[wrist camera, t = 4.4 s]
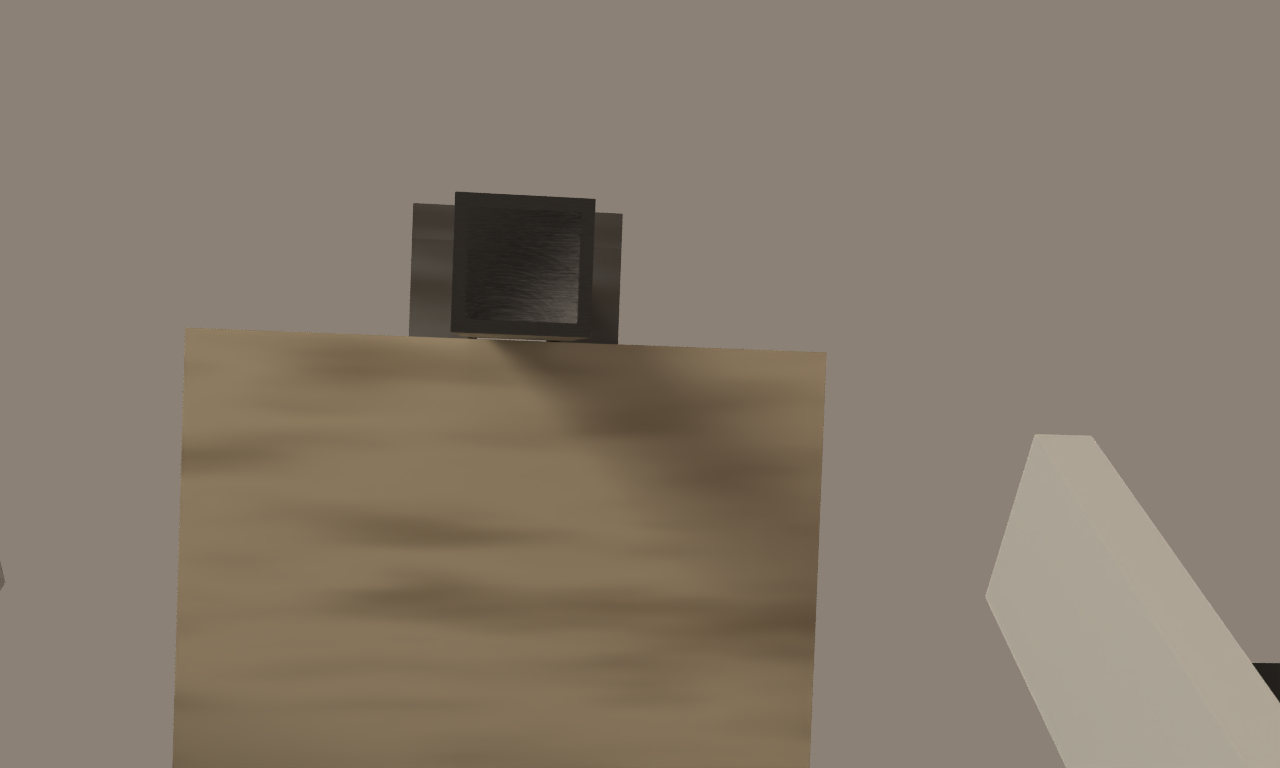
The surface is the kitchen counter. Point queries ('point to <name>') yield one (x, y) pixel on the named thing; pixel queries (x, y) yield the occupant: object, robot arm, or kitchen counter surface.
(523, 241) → the grey square bar
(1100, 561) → the robot arm
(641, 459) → the oak stand
